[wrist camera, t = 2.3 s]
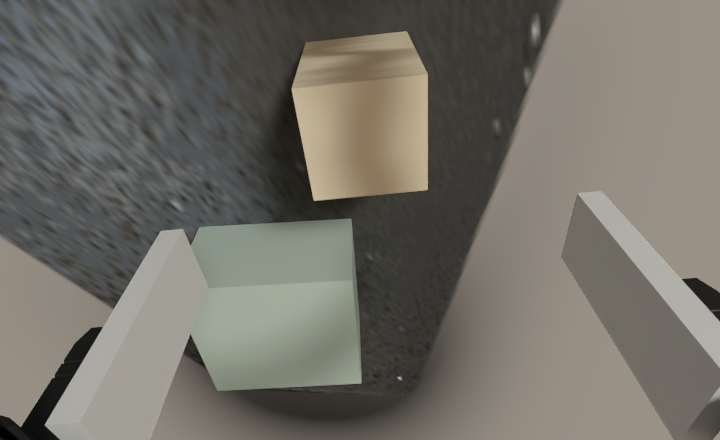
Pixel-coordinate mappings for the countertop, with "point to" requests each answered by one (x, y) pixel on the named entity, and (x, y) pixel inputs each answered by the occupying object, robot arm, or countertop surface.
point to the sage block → (278, 305)
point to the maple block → (363, 116)
